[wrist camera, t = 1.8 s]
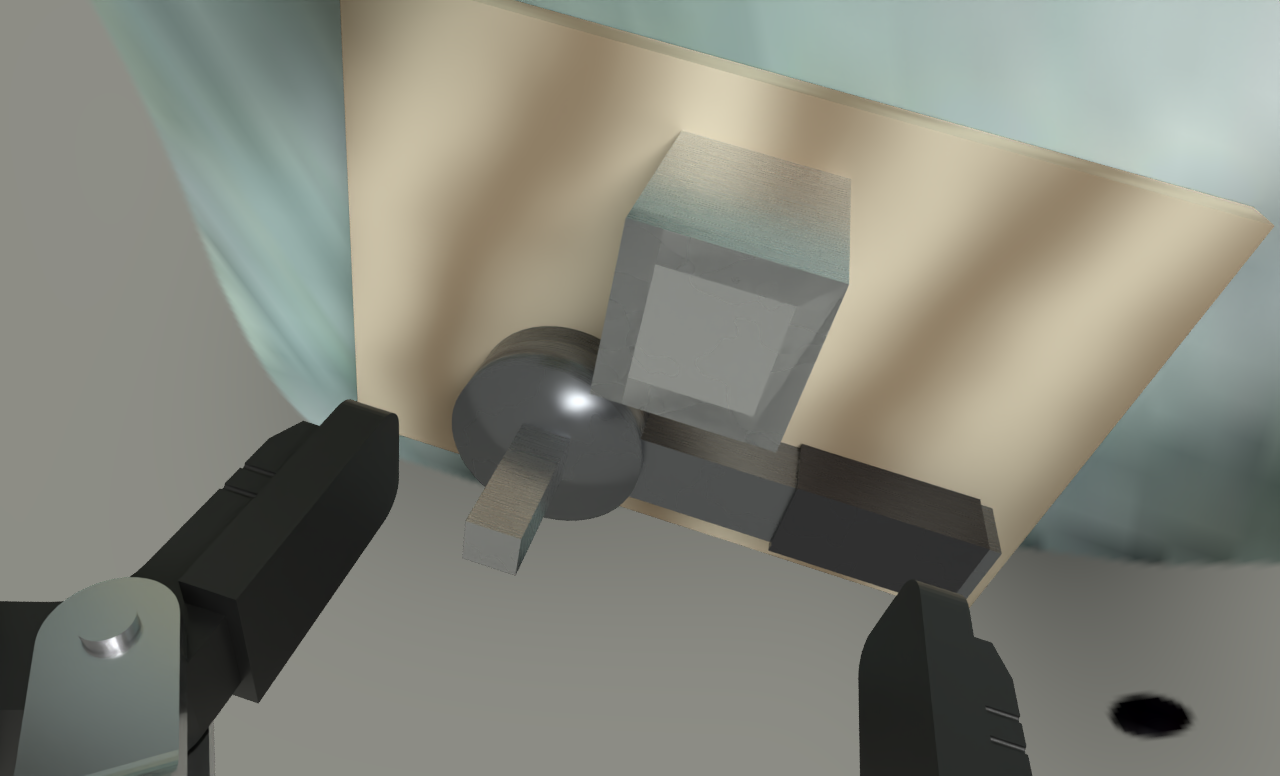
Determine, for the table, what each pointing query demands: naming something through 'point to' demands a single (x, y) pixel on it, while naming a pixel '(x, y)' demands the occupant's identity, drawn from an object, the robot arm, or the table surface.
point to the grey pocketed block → (725, 289)
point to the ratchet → (690, 477)
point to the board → (879, 245)
